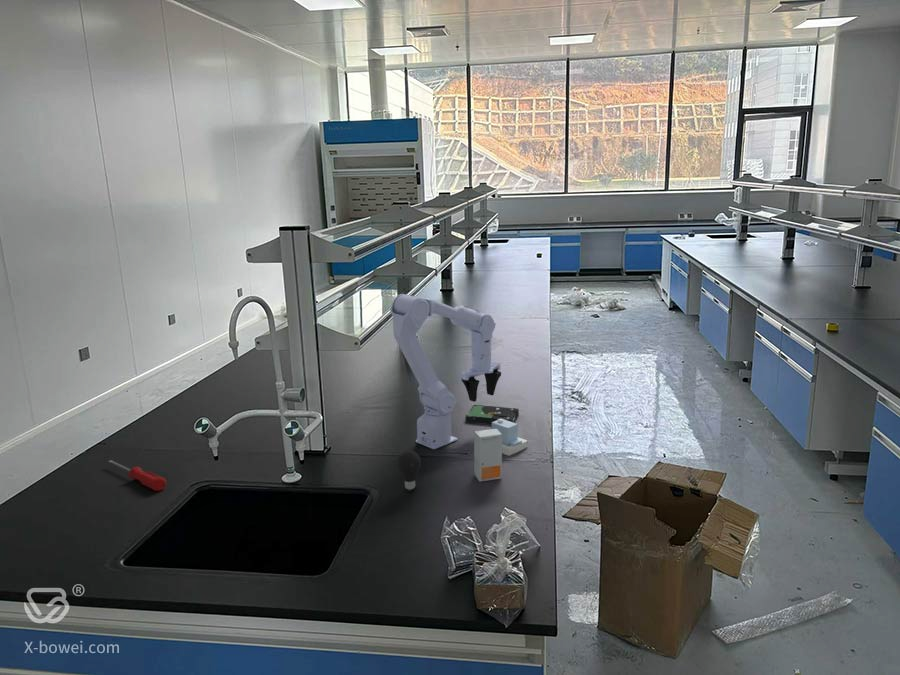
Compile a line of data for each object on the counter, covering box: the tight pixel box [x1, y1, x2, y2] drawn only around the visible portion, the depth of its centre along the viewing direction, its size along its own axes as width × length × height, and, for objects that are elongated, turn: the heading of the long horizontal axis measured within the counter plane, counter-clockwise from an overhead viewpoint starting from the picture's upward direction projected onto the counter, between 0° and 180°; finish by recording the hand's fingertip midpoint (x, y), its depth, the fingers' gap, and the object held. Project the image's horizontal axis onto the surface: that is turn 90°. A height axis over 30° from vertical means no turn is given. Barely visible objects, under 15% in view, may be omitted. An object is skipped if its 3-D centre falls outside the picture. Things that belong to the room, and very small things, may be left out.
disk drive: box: [464, 404, 520, 426], centre depth 198 cm, size 10×3×15 cm
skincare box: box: [473, 428, 503, 483], centre depth 158 cm, size 6×4×12 cm
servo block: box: [491, 419, 522, 446], centre depth 177 cm, size 4×10×8 cm, turn 44°
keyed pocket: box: [502, 436, 528, 457], centre depth 177 cm, size 8×10×2 cm
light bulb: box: [397, 449, 422, 491], centre depth 153 cm, size 6×6×10 cm
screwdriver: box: [108, 460, 167, 492], centre depth 163 cm, size 4×25×4 cm, turn 54°
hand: (481, 397), depth 189 cm, fingers open, 7 cm apart
